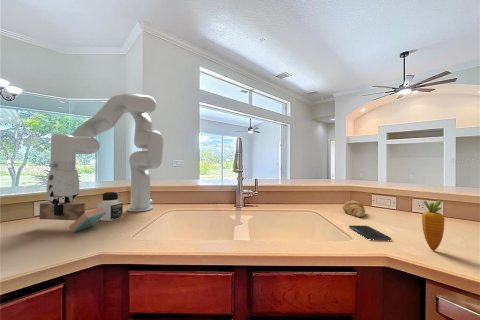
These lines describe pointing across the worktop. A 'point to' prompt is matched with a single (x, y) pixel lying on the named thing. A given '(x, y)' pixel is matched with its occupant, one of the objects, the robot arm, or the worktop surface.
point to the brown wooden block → (69, 211)
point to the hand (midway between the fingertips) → (62, 213)
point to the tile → (87, 220)
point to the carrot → (433, 225)
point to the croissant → (354, 208)
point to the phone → (369, 233)
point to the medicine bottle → (111, 207)
